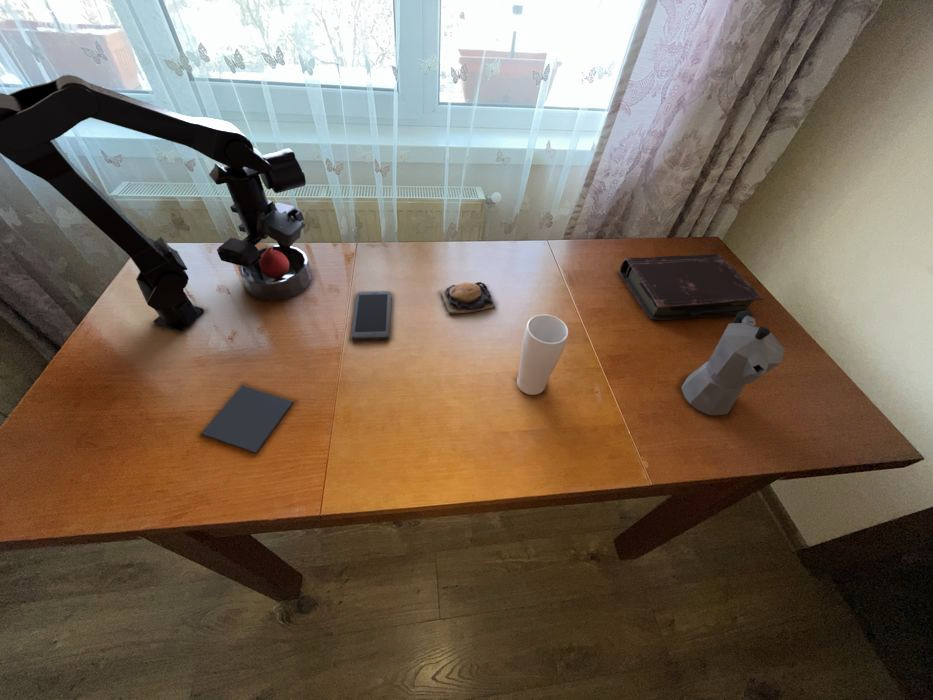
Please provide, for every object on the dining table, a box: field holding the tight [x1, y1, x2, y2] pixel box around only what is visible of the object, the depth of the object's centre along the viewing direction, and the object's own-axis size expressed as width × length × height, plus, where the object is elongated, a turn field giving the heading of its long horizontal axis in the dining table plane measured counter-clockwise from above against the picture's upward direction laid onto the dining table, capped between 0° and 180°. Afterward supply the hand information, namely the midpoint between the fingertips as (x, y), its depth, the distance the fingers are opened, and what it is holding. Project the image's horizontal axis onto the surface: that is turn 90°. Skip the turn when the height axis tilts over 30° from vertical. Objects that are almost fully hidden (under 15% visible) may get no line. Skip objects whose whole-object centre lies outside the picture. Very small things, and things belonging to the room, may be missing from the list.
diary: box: [618, 253, 764, 321], centre depth 93 cm, size 19×25×5 cm
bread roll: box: [440, 281, 495, 315], centre depth 87 cm, size 11×8×4 cm
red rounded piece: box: [259, 245, 289, 279], centre depth 86 cm, size 6×6×8 cm
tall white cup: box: [516, 313, 569, 396], centre depth 69 cm, size 7×7×15 cm
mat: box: [200, 384, 294, 454], centre depth 66 cm, size 10×10×1 cm
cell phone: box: [351, 290, 392, 341], centre depth 83 cm, size 7×14×1 cm, turn 6°
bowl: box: [238, 244, 313, 302], centre depth 87 cm, size 14×14×4 cm
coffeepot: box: [680, 309, 786, 417], centre depth 69 cm, size 15×9×18 cm, turn 162°
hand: (274, 266), depth 86 cm, fingers open, 9 cm apart
